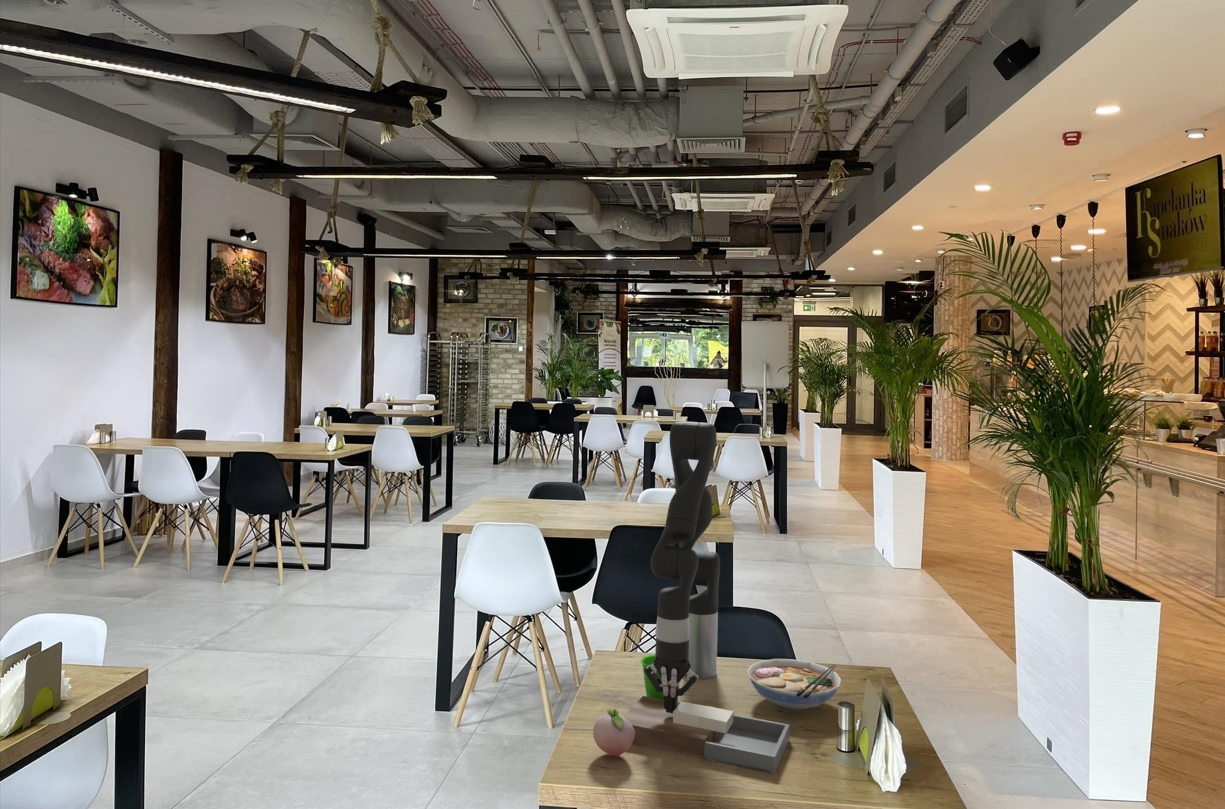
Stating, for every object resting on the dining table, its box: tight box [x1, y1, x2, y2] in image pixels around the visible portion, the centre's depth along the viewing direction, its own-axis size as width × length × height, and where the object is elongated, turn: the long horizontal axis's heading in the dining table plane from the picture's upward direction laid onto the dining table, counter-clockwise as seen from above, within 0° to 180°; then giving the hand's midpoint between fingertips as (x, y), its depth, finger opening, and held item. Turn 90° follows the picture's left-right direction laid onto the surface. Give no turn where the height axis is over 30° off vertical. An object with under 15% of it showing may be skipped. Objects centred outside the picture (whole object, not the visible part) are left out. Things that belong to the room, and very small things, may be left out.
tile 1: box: [673, 701, 707, 728], centre depth 178 cm, size 6×6×2 cm
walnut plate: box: [623, 695, 720, 759], centre depth 180 cm, size 16×20×4 cm
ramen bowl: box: [746, 658, 842, 711], centre depth 198 cm, size 25×23×8 cm
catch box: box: [703, 713, 791, 775], centre depth 173 cm, size 17×15×4 cm
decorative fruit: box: [592, 708, 635, 757], centre depth 169 cm, size 9×8×10 cm
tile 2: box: [699, 705, 734, 733], centre depth 176 cm, size 6×6×2 cm
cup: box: [640, 654, 664, 700], centre depth 195 cm, size 9×9×11 cm
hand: (670, 711), depth 180 cm, fingers closed
